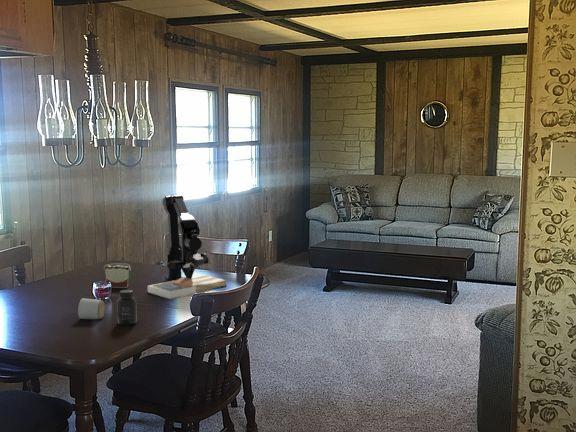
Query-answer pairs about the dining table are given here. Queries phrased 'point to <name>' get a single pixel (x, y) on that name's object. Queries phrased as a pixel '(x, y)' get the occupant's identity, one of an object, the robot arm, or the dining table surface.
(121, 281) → the food container
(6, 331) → the dining table surface
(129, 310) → the supplement bottle
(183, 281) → the terracotta tile
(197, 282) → the birch plate
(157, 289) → the box
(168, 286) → the slate tile
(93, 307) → the white cylinder
